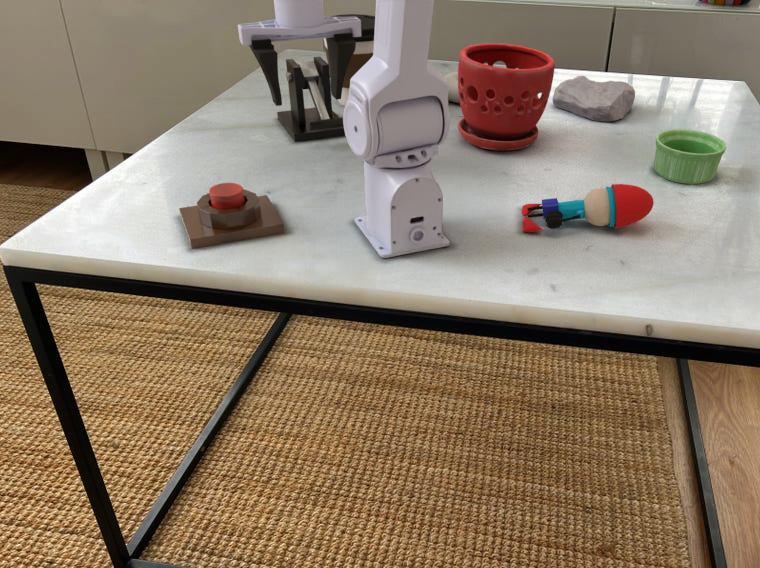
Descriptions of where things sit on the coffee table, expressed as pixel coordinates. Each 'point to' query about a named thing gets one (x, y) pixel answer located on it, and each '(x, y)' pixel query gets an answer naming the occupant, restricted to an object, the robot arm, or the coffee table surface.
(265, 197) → the button block
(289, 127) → the bracket
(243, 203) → the button
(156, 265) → the coffee table surface
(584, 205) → the toy figure
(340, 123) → the lever
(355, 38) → the coffee cup
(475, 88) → the flower pot
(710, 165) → the ramekin
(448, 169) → the coffee table surface
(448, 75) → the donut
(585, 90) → the stone block
